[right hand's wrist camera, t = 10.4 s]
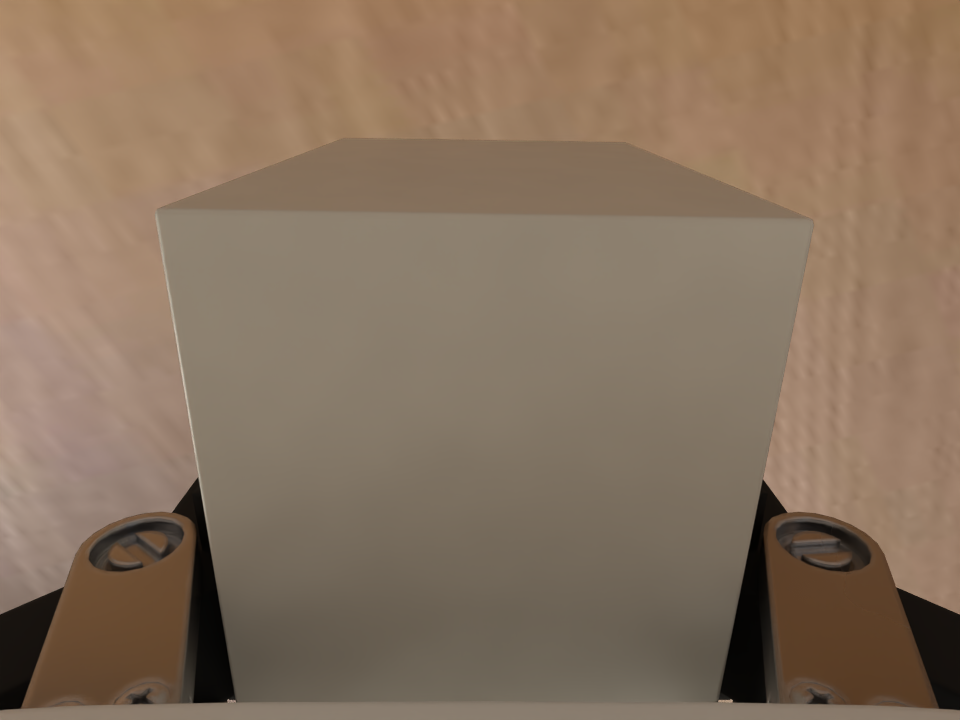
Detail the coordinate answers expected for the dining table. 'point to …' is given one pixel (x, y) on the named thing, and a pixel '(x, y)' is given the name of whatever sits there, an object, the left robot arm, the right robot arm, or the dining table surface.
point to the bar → (480, 416)
